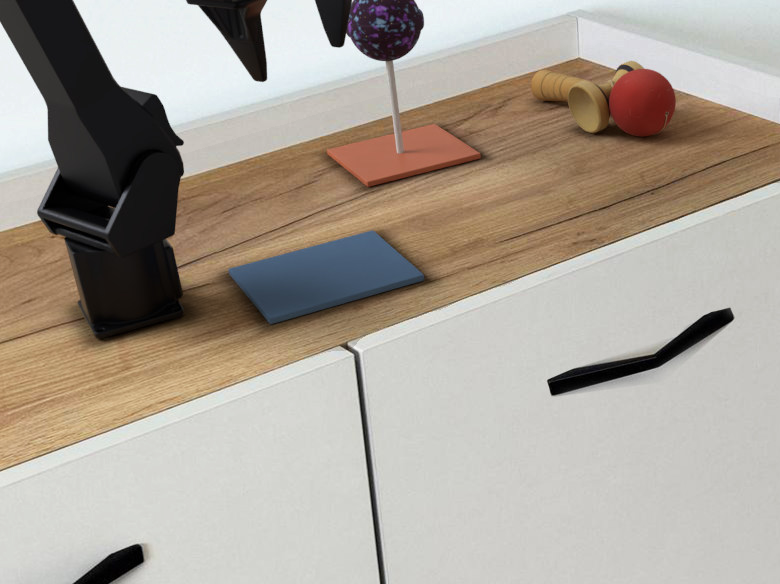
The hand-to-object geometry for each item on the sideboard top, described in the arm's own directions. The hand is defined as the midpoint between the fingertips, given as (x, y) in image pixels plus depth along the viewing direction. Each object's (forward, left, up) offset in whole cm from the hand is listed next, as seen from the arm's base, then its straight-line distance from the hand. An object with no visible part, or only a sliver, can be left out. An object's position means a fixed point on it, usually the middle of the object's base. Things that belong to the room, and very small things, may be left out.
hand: (300, 63), depth 103 cm
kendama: (+30, +6, -13) cm, 33 cm away
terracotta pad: (+11, +9, -13) cm, 19 cm away
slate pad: (-4, -11, -13) cm, 18 cm away
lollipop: (+11, +9, -13) cm, 19 cm away
